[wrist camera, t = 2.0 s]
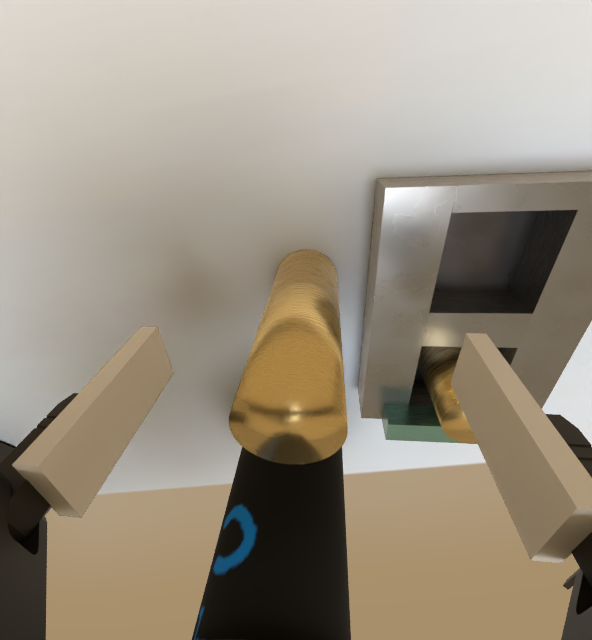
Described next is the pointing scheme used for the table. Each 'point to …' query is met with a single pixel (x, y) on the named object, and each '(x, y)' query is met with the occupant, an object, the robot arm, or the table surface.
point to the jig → (471, 290)
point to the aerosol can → (280, 555)
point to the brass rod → (295, 368)
